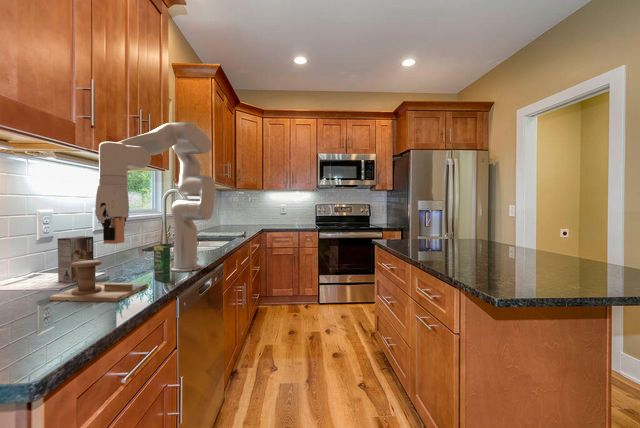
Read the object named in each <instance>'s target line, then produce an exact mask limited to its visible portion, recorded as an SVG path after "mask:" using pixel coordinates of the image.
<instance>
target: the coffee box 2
mask: <svg viewBox="0 0 640 428" xmlns="http://www.w3.org/2000/svg"><path fill="white" fill-rule="evenodd" d="M170 267H171V247H170V246H164V245H155V246H153V273H154V274H153V277H154V279H153V280H155V281H158V282H161V283H169V282H171V270H170Z"/></svg>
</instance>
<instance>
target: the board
mask: <svg viewBox="0 0 640 428" xmlns="http://www.w3.org/2000/svg"><path fill="white" fill-rule="evenodd" d="M95 286H100V287H102V290H101V291H100V292H97V293H93V294H88V295H72V290H74V289H76V288H78V286H77V287H73V288H71V289H68V290H65V291H61V292H58V293H55V294H53V295H50V296H49V301H59V300H60V302H62V301H63V302H65V301H66V300H68V301H69V302H111V303H113V302H118V301H121V300H123V299H126V298H127V297H130V296H132V295H134V294H137V293H138V292H140V291H143V290H144V289H146V288H149V283H147V282H146V283H143V282H141V283H140V282H139V283H138V282H99V281H98V282H96V281H95ZM68 301H67V302H68Z"/></svg>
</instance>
